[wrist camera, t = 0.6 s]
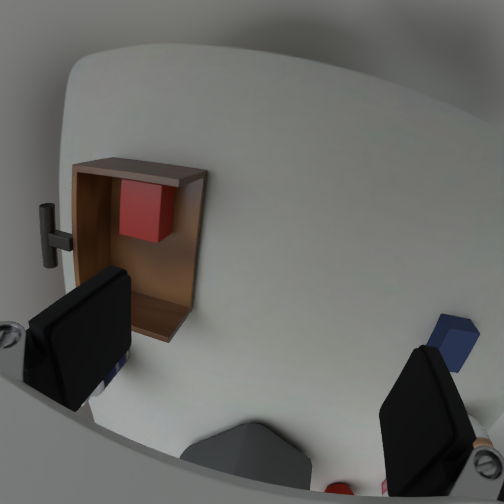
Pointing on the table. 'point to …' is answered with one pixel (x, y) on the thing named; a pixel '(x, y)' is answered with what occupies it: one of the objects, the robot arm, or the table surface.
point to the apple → (339, 489)
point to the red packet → (146, 210)
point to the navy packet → (454, 340)
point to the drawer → (132, 239)
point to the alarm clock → (253, 456)
